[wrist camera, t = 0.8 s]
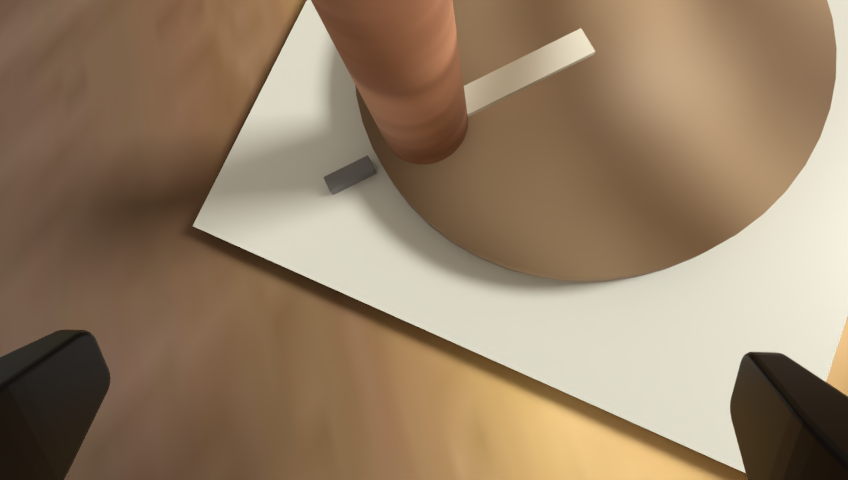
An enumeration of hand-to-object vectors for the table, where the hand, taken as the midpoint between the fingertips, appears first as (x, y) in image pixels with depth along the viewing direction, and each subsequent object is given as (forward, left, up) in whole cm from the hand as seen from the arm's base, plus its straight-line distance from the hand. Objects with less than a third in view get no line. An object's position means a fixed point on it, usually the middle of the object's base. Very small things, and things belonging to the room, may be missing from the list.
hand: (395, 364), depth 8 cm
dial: (+11, 0, -12) cm, 16 cm away
